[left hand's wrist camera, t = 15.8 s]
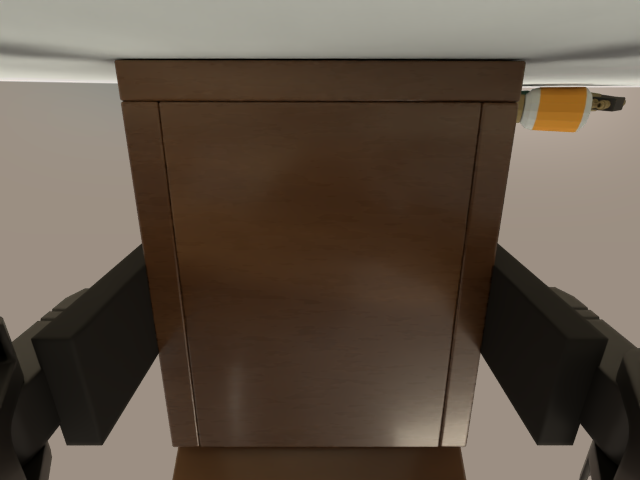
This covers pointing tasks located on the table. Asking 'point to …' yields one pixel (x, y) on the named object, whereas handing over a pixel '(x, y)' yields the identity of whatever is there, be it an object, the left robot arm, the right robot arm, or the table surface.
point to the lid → (319, 463)
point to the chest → (319, 242)
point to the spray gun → (562, 107)
